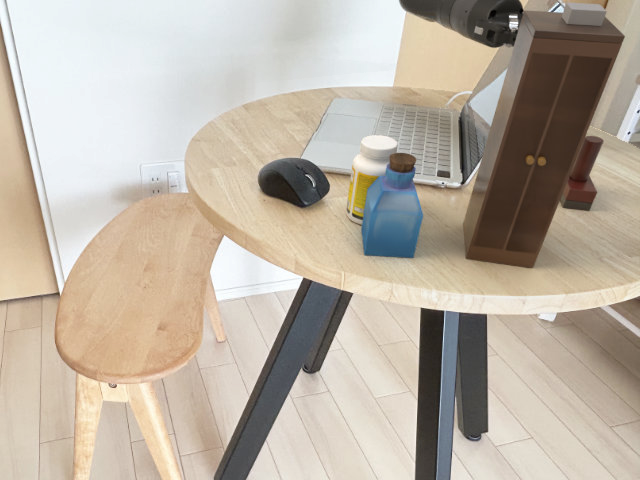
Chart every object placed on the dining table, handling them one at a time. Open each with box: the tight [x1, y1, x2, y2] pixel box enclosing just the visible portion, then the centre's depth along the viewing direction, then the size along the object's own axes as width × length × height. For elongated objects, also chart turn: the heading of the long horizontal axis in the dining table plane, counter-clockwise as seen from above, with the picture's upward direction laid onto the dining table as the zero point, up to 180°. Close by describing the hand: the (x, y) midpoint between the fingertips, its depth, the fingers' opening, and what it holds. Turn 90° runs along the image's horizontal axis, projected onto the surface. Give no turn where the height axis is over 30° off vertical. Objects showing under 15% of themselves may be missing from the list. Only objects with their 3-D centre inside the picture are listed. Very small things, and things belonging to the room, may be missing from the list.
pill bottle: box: [345, 134, 399, 226], centre depth 77 cm, size 6×6×11 cm
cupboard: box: [462, 10, 626, 269], centre depth 66 cm, size 10×8×27 cm
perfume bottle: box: [360, 152, 424, 259], centre depth 71 cm, size 6×6×12 cm
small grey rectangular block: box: [562, 2, 608, 26], centre depth 58 cm, size 3×3×1 cm
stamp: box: [559, 135, 604, 211], centre depth 83 cm, size 8×4×9 cm, turn 165°
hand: (559, 42), depth 82 cm, fingers open, 8 cm apart
